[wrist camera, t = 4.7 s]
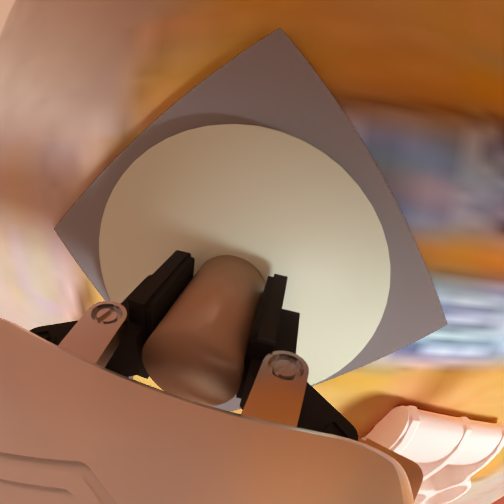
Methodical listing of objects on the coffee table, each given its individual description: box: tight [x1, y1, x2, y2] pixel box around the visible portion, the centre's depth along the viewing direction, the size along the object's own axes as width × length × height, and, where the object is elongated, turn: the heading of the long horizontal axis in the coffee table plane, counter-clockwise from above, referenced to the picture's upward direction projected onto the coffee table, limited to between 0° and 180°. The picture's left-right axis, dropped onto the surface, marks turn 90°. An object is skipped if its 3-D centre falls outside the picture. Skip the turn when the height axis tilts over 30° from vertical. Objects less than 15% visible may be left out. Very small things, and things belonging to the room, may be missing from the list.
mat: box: [54, 28, 447, 411], centre depth 14 cm, size 15×15×1 cm
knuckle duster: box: [361, 405, 504, 504], centre depth 18 cm, size 3×18×15 cm
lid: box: [99, 124, 391, 406], centre depth 11 cm, size 13×13×6 cm
